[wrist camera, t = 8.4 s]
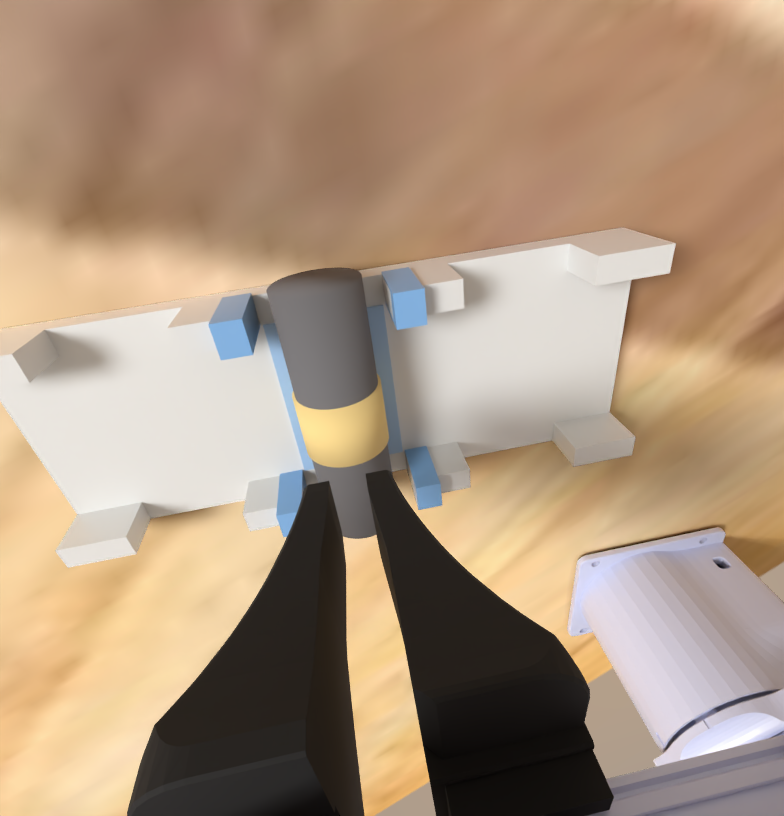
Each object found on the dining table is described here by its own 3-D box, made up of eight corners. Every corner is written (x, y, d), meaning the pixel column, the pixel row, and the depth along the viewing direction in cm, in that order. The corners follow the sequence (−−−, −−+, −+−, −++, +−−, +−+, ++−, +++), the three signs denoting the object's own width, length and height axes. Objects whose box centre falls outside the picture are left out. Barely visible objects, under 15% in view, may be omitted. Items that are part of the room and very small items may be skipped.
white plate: (623, 224, 18) (689, 243, 15) (595, 420, 22) (639, 465, 19) (-23, 329, 16) (-101, 376, 13) (98, 516, 21) (62, 581, 18)
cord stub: (268, 276, 16) (257, 307, 13) (360, 261, 16) (369, 288, 13) (325, 493, 21) (326, 547, 18) (394, 480, 21) (405, 532, 18)
